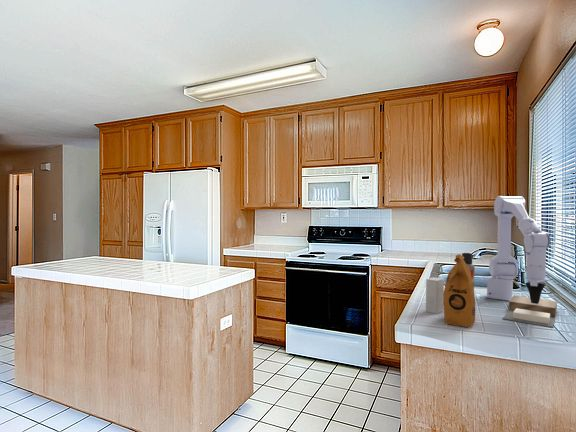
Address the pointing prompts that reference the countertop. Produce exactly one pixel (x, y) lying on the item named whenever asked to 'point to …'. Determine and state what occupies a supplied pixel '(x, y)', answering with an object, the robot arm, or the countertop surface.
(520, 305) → the board
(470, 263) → the lotion bottle
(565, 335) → the countertop surface
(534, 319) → the block
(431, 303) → the skincare box
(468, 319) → the coffee package
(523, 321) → the mat
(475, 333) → the countertop surface
